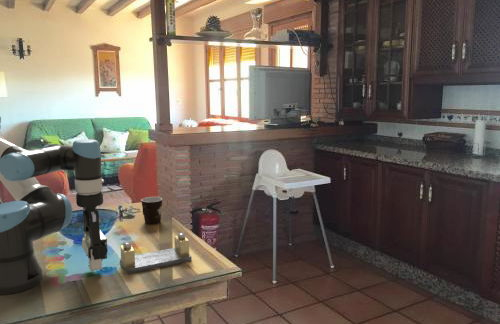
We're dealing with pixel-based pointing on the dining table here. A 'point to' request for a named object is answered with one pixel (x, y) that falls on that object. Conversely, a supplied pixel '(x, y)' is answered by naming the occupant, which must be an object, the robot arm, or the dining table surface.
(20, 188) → the robot arm
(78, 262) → the dining table surface
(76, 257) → the dining table surface
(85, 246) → the pneumatic valve
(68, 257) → the dining table surface
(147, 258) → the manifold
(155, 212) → the coffee mug
